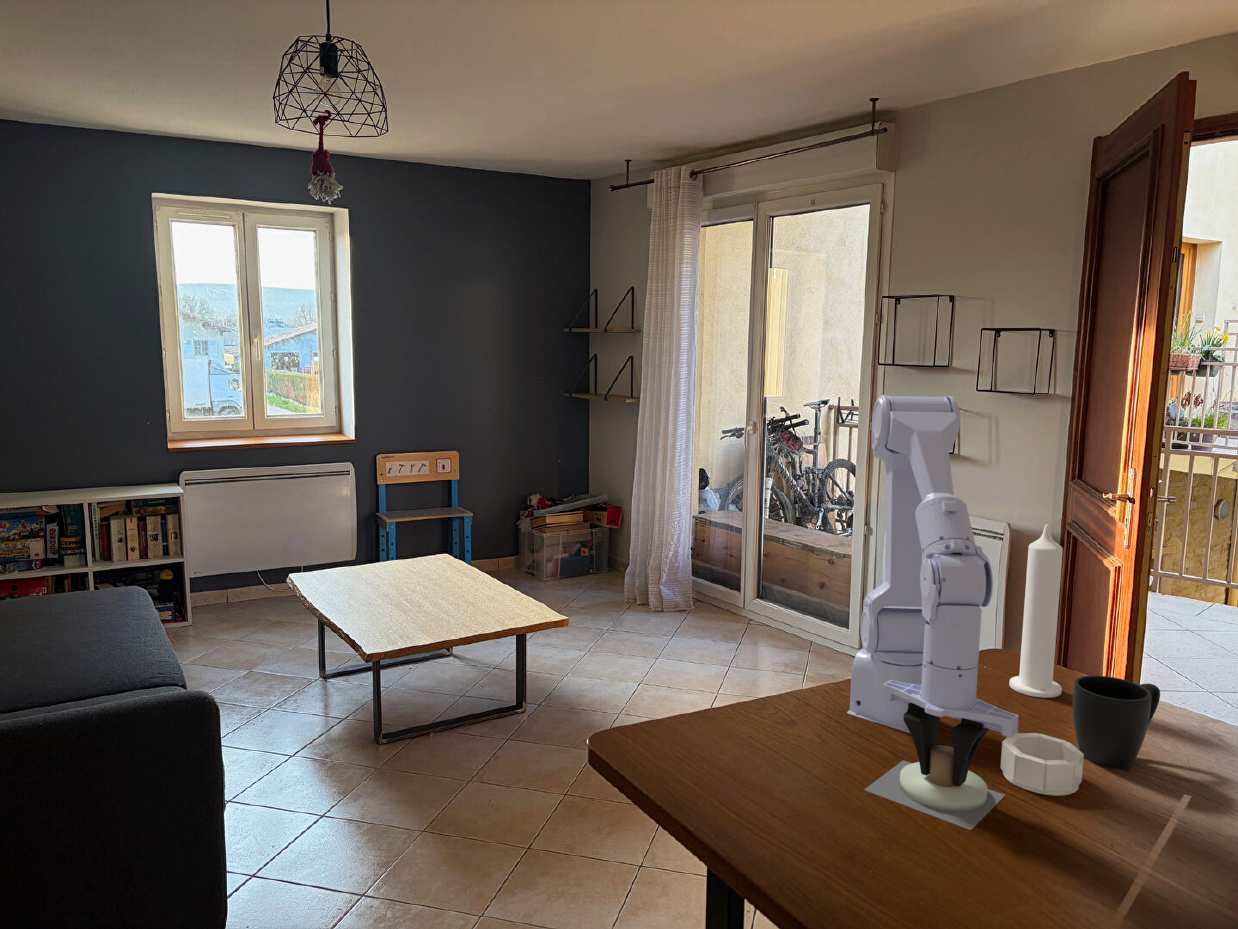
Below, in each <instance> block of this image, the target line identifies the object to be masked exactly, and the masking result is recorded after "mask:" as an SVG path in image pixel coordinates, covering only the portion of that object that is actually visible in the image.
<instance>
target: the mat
mask: <svg viewBox="0 0 1238 929" xmlns="http://www.w3.org/2000/svg"><path fill="white" fill-rule="evenodd" d="M909 764H912V762H909V761H906V760H904V759H903V760H902V761H900V762H898V764H896V765H894V766H893V767H892V768H891V769H890V770H888V771H887V772H885V773H884V774H883V775H882V776H880V777H878V778H877V779H876V780H875V781H874V782H872V783H871V784H870V785H868V786H867V787H866V788H865V789H863V791H864V792H866V793H870V794H872V795H875V796H878V797H881V798H883V799H886V800H889V801H891V802H894V803H896V804H899V805H902V806H905V807H907V808H910V809H913V810H915V811H917V812H920V813H923V814H926V815H928V816H931V817H934V818H936V819H939V820H942V821H944V822H948V823H950V824H953V825H955V826H958V827H961V828H963V829H966V830H968V831H972V830H974V828H975V827H976V826H977V825H978V824H979V822H981V821H982V820H983V819H984V818H985V817H986V816H987V815H988V814H989V813H990V812H991V811H992V810H993V809H994V807H995V806H997V804H999V803H1000V801H1002V799H1003V798H1005V797H1006V794H1004V793H1000V792H999V791H995V790H993V789H989V788H987V800H986V803H985V804H984V806H982V807H981V808H979V809H976V810H973V811H967V812H950V811H942V810H938V809H934V808H930V807H927V806H924V805H922V804H919V803H917V802H915V801H914V800H912V799H910V798H909V797H908V796H906V795H905V794H904V793H903V791H902V790H901V788H900V772H901V770H902V769H903V768H904V767H905V766H907V765H909Z"/></svg>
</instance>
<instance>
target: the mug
mask: <svg viewBox="0 0 1238 929" xmlns="http://www.w3.org/2000/svg"><path fill="white" fill-rule="evenodd" d="M1072 692H1073V694H1072V720H1073V726H1074V731H1075V737H1076V741H1077V745H1078V750H1079V751H1081V752H1082V753H1083V755H1084V760H1086V761H1088V762H1090V763H1093V764H1095V765H1098V766H1102V767H1104V768H1105V767H1106V768H1110V769H1118V770H1121V771H1124V772H1129V771H1130V770H1132V769H1133V765H1134V762H1135V761H1136V758H1137V757H1138V755H1139V752H1140V751H1141V748H1142V745H1143V743H1144V741H1145V737H1146V734H1147V731H1148V728H1149V725H1150V723H1151V721H1152V719H1153V717H1154V715H1155V713H1156V711H1157V708H1158V706H1159V703H1160V698H1161V690H1160V688H1159V687H1158V686H1157V685H1155V684H1153V683H1142V684H1138V683H1135V682H1132V681H1131V680H1126V679H1123V678H1118V677H1112V676H1106V675H1085V676H1084V675H1083V676H1080V677H1077V678H1076V679H1075V680H1074V682H1073V691H1072Z"/></svg>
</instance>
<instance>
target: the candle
mask: <svg viewBox="0 0 1238 929" xmlns="http://www.w3.org/2000/svg"><path fill="white" fill-rule="evenodd" d="M1027 550H1028V551H1027V561H1026V562H1027V564H1026V579H1025V580H1026V581H1025V592H1024V595H1025V596H1024V603H1023V604H1024V606H1023V607H1024V608H1023V620H1022V633H1021V645H1020V646H1021V648H1020V663H1019V675H1017V676H1012V677H1011V678H1010V679H1009V684H1008V685H1009V686H1010V688H1011V689H1012V690H1014V691H1015V692H1017V693H1020V694H1023V695H1025V696H1030V697H1034V698H1043V699H1048V698H1051V699H1052V698H1056V697H1059V696H1061V695H1062V693H1063V688H1062V686H1061V685H1060V684H1059V683H1057V682H1056V681H1055V680H1053V679H1054V669H1055V656H1056V643H1057V642H1056V641H1057V629H1058V616H1059V605H1060V603H1059V602H1060V592H1061V576H1062V564H1063V552H1064V549H1063V547H1062V546H1061V545H1060V544H1059V543H1058V542H1056V541H1055V540H1054V539H1053V537H1052V534H1051V529H1050V525H1049V524H1045V525H1044V528H1043V532H1042V533H1041V536H1039V538H1038V539H1037V540H1035V541H1033V542H1031V543H1029V545H1028V549H1027Z"/></svg>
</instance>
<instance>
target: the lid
mask: <svg viewBox="0 0 1238 929" xmlns="http://www.w3.org/2000/svg"><path fill="white" fill-rule="evenodd" d="M911 763H912V762H911ZM953 765H954V747H952V746H948V745H943V744H941V745H940V744H938V745H937V744H936V745H935V746H932V747H931V751H930V768H929V774H928V775H927V776H926V775H923V774H921V769H920V763H919V761H918V762H913V763H912V764H909V765H907V766H905V767H904V768H903V769H902V770H901V772H900V788H901V790H902V791H903V793H904V794H905V795H906V796H908V797H909V798H910V799H912V800H914V801H915V802H917V803H919V804H922V805H924V806H927V807H930V808H934V809H938V810H942V811H950V812H967V811H973V810H976V809H979V808H981V807H982V806H984V804H985V803H986V800H987V789H988V785H987V784H986V782H985V781H984V780H983V779H982V778H981V776H979V775H978V774H976V773H974V772H972V771H971V770H970V769H969V770H968V773H967V777H966V781H965V782H964V783H963V784H962V785H961V786H960V787H958V786H955V785H953V781H952V775H953Z"/></svg>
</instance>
